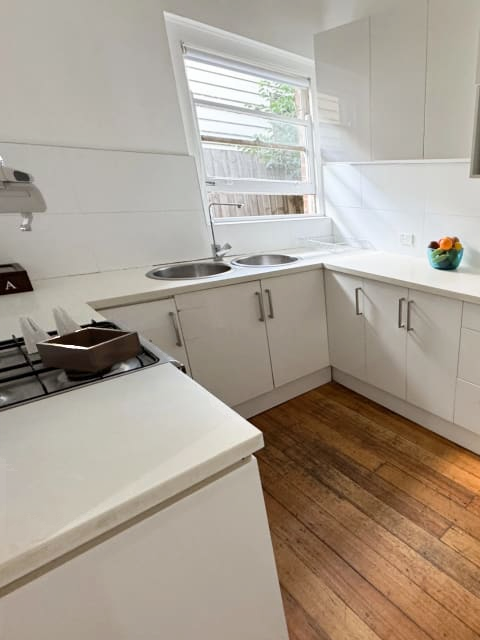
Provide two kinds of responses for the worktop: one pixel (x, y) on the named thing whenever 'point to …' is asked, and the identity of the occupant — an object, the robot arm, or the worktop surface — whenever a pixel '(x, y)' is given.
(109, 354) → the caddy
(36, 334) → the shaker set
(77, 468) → the worktop surface
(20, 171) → the robot arm
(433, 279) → the worktop surface
